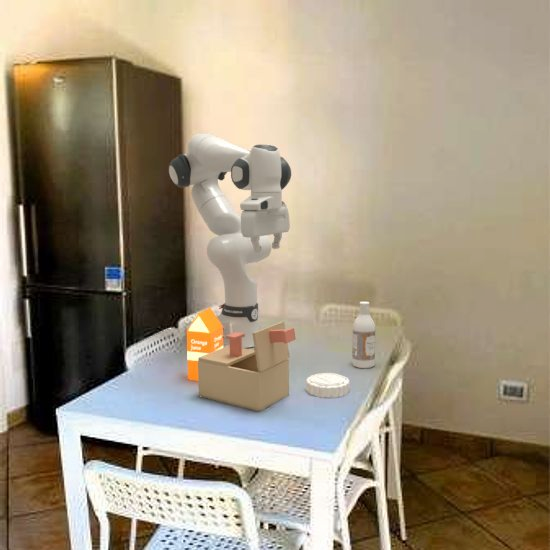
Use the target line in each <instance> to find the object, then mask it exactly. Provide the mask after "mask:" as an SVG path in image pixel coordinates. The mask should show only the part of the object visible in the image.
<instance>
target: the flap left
mask: <svg viewBox="0 0 550 550" xmlns="http://www.w3.org/2000/svg"><path fill="white" fill-rule="evenodd" d="M242 337H245V334H244V333H238V332H235V333H232V334H229V335H227V336H226V339H230V345H229V346H227V347H224V348H221V349H219V350H216V351H214V352H211V353H209V354H206V355H204V356H201V357H199V358H198V360H199V361H203V362H208V363H213V364H217V365H222V366H227V367H228V366H230V365H232V364H235V363H237V362H239V361H242V360H244V359H246V358H248V357H251V356H253V355H255V349H250V348H242Z"/></svg>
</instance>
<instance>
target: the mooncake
mask: <svg viewBox="0 0 550 550" xmlns="http://www.w3.org/2000/svg"><path fill="white" fill-rule="evenodd" d="M350 382H351V381H350V379H349V378H348V377H347V376H344V375H341V374H338V373H334V372H324V373H321V372H320V373H316V374H311V375H310V376H308V377H307V378H306V381H305V390H306V393H309V395H311V396H314V397H319V398H326V399H330V398H333V399H334V398H336V399H337V398H340V397H343V396H346V395H347V394H349V393H350V391H351V390H350V389H351V387H350V385H351V383H350Z"/></svg>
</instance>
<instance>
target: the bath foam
mask: <svg viewBox="0 0 550 550" xmlns="http://www.w3.org/2000/svg"><path fill="white" fill-rule="evenodd" d="M351 341H352V346H351V347H352V348H351V349H352V351H351V353H352V354H351V356H352V359H351V364H352V366H353V367H355V368H359V369H370V368H372V367H374V366H375V362H376V324H375V322H374V320H373V318H372V317H371V315H370V302H369V301H359V314H358V315H357V317H356V318H355V320H354V322H353V325H352V340H351Z"/></svg>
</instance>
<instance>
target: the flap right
mask: <svg viewBox="0 0 550 550" xmlns="http://www.w3.org/2000/svg"><path fill="white" fill-rule="evenodd" d="M252 335H253V341H254V350H255V354H256V360H257V367H258V371H263V370H265V369H267V368H269V367H271V366H273V365H275V364H277V363H279V362H282V361H284V360H286V359H289V358H290V357H291V356H290V351H289V343H290V342H292V341H293V342H294V341H295V340H297V339H296V332H295V327H291V328H288V329H287V328H286V324H285V321H280V322H278V323H274V324H272V325H270V326H267V327H263V328H262V329H259V331H256V332H254V333H252Z"/></svg>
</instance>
